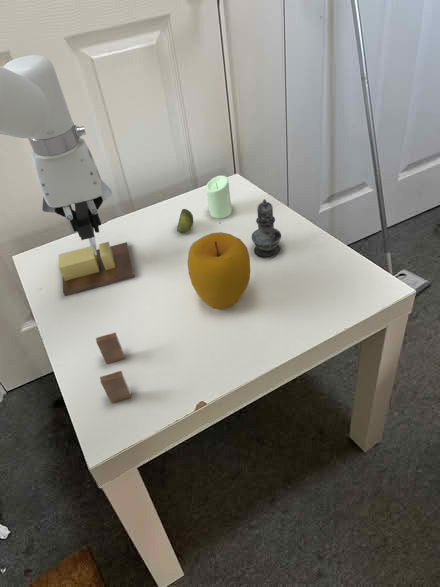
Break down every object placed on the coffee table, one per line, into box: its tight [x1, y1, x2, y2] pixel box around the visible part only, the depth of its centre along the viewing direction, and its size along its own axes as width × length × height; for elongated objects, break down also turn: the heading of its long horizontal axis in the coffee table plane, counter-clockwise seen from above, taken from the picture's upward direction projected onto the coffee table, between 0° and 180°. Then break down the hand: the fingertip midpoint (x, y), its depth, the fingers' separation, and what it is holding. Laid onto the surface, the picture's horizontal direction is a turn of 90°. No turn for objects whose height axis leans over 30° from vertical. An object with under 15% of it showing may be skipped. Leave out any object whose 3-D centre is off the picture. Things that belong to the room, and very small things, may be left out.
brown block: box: [95, 332, 132, 404], centre depth 72 cm, size 3×9×6 cm, turn 16°
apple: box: [187, 231, 251, 310], centre depth 80 cm, size 11×11×13 cm
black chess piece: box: [251, 198, 282, 260], centre depth 89 cm, size 6×6×12 cm
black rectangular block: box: [74, 201, 98, 256], centre depth 88 cm, size 2×10×8 cm, turn 16°
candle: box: [205, 175, 233, 219], centre depth 101 cm, size 5×5×8 cm
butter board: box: [61, 241, 136, 297], centre depth 94 cm, size 14×11×1 cm
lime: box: [176, 208, 194, 233], centre depth 99 cm, size 4×5×5 cm
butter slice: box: [98, 241, 115, 270], centre depth 93 cm, size 2×4×4 cm, turn 16°
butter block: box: [58, 245, 100, 281], centre depth 92 cm, size 7×4×4 cm, turn 106°
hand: (88, 230), depth 88 cm, fingers closed on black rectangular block, 2 cm apart
